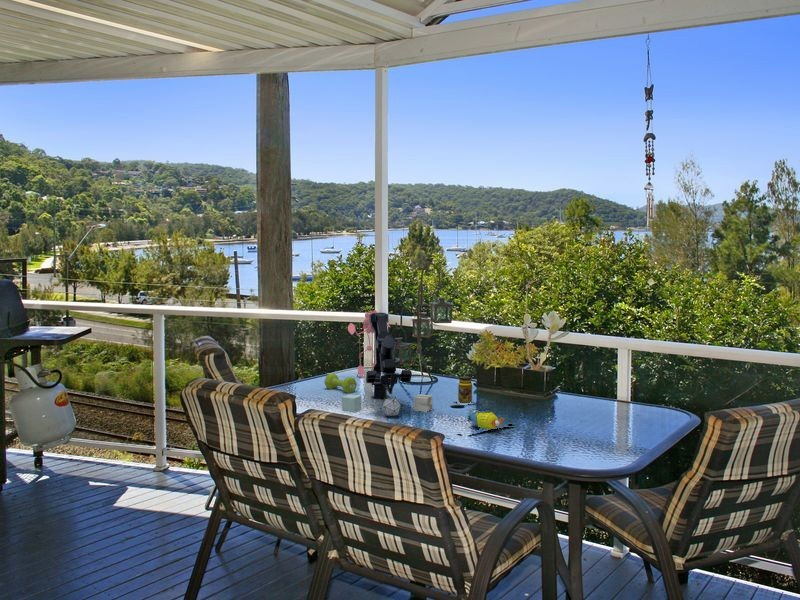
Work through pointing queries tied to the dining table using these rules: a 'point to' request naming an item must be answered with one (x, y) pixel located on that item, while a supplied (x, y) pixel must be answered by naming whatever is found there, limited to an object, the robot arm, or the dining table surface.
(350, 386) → the dumbbell
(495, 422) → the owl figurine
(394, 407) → the game die
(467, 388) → the condiment
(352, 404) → the sage block
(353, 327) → the pink tall part
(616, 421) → the dining table surface
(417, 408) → the birch block
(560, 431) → the dining table surface
